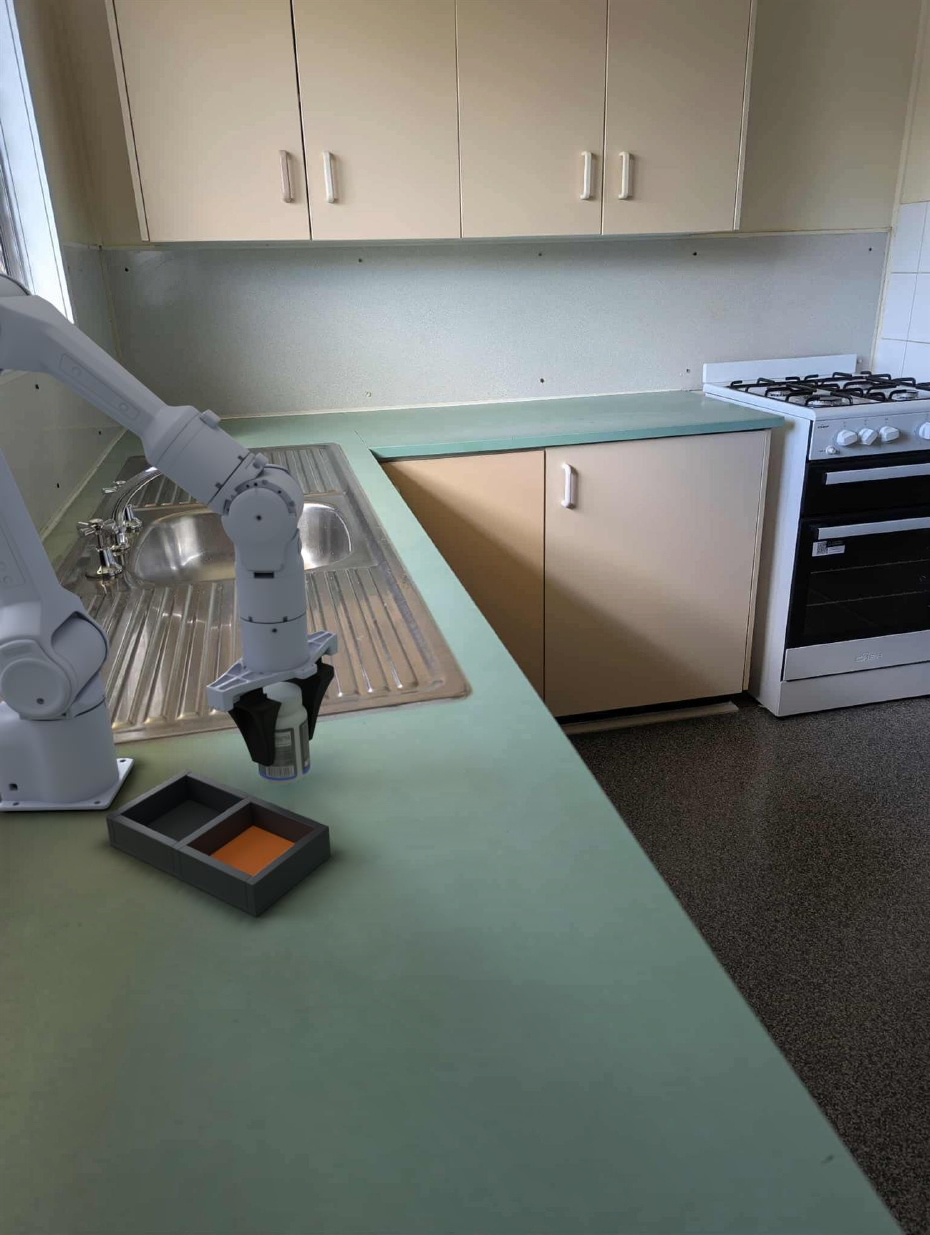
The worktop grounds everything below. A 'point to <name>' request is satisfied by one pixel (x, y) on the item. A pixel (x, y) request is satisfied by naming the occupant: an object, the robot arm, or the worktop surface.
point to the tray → (220, 840)
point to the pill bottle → (288, 736)
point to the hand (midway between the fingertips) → (282, 749)
